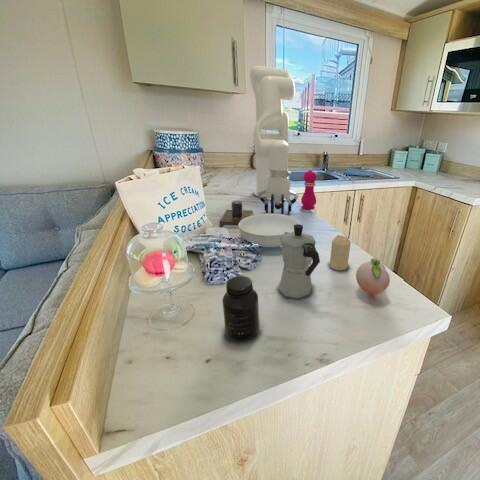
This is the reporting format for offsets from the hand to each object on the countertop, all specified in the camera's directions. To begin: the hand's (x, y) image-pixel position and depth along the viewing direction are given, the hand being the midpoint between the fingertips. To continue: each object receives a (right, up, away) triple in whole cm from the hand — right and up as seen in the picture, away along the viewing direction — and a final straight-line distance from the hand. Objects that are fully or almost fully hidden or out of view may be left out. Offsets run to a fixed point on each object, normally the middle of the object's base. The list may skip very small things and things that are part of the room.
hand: (278, 212), depth 121 cm
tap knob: (-15, -2, -10) cm, 18 cm away
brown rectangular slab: (-15, -5, -9) cm, 18 cm away
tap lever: (+1, +2, -7) cm, 8 cm away
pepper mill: (+13, +2, +11) cm, 17 cm away
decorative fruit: (+32, -26, -48) cm, 63 cm away
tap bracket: (+1, -5, -8) cm, 10 cm away
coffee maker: (+13, -26, -49) cm, 57 cm away
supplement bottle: (+2, -31, -64) cm, 71 cm away
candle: (+24, -20, -36) cm, 48 cm away
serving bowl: (+1, -13, -24) cm, 27 cm away
